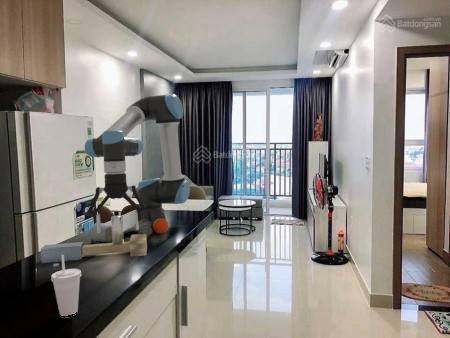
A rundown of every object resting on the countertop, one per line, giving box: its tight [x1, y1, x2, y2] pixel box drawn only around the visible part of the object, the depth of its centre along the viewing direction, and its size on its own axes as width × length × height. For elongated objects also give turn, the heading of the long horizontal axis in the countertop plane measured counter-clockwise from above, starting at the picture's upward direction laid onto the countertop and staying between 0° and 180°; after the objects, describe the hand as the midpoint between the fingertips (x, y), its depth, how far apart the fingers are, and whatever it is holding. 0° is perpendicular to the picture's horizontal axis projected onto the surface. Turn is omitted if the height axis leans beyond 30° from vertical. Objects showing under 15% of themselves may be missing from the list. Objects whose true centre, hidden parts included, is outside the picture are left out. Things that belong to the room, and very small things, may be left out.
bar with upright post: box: [81, 215, 130, 257], centre depth 123 cm, size 23×4×13 cm, turn 101°
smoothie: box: [50, 255, 82, 317], centre depth 78 cm, size 6×6×14 cm
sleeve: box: [40, 241, 85, 264], centre depth 120 cm, size 13×5×5 cm, turn 101°
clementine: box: [152, 218, 169, 235], centre depth 152 cm, size 8×7×7 cm
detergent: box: [123, 219, 153, 242], centre depth 146 cm, size 13×7×25 cm
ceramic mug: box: [90, 222, 112, 243], centre depth 144 cm, size 11×8×8 cm
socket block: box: [129, 234, 148, 257], centre depth 125 cm, size 6×9×6 cm, turn 11°
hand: (118, 230), depth 123 cm, fingers open, 13 cm apart
